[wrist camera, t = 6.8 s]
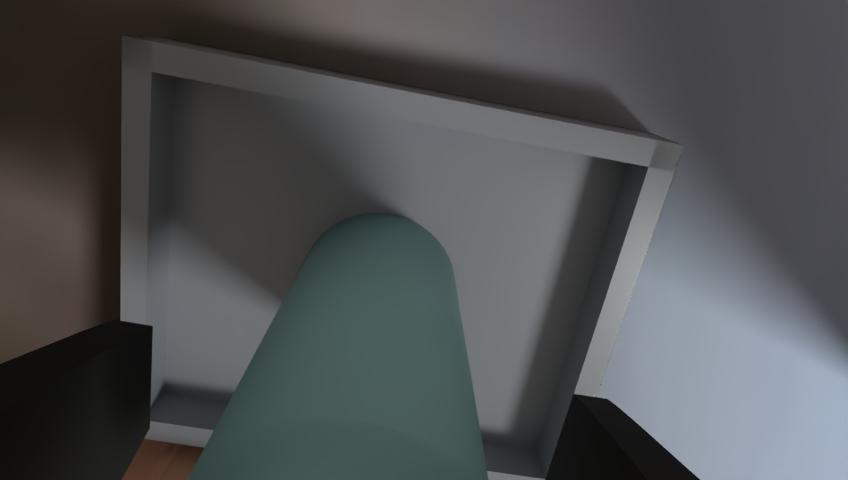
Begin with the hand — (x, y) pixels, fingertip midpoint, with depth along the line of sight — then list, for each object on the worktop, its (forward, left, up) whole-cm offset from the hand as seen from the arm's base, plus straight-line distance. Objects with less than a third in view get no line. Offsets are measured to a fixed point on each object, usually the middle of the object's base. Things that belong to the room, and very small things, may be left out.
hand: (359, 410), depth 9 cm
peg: (0, 0, -5) cm, 5 cm away
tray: (0, 0, -6) cm, 6 cm away
